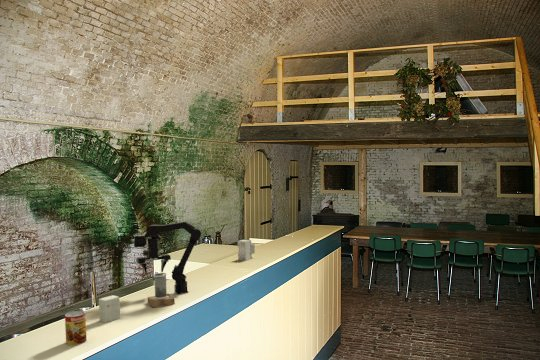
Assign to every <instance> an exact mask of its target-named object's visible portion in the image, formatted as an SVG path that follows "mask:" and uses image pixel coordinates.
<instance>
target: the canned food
mask: <svg viewBox="0 0 540 360" xmlns="http://www.w3.org/2000/svg"><path fill="white" fill-rule="evenodd" d="M86 314H87V313H86V311H84V310H73V311H68V312H67V313H65V314H64V326H65V328H64V329H65V344H66V346H70V345H72V346H73V347H74V346H78V345H81V344H85V343H86V342H87V341H88V340H87V322H86V321H87V320H86V319H87V318H86Z"/></svg>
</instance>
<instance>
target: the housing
mask: <svg viewBox="0 0 540 360" xmlns="http://www.w3.org/2000/svg"><path fill="white" fill-rule="evenodd" d="M153 277H154V295H153V296H154V299H165V298H168V295H167V294H168V293H167V292H168V291H167V273H166V272H160V273H154V274H153Z"/></svg>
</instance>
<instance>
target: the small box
mask: <svg viewBox="0 0 540 360" xmlns="http://www.w3.org/2000/svg"><path fill="white" fill-rule="evenodd" d="M120 301H121V300H120V296H117V295H113V294H112V295H109V296H105V297H102V298H99V299H98V310H99V311H98V313H99V321H101V322H103V323H109V322H112V321H116V320H118V319H121V304H120V303H121V302H120Z"/></svg>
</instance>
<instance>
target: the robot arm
mask: <svg viewBox="0 0 540 360" xmlns="http://www.w3.org/2000/svg"><path fill="white" fill-rule="evenodd" d="M177 230H184V231H186V232H187V233H188V234H189V235H190V237H189V242H188V243H187V246H186V248H185V250H184V252H183V255H182V256H181V258H180V261H179V263H178V264H175V265H174V266H173V269H172V271H171V278H172V280H173V281H174V283H175V284H174V286H173V287H174V294H175V293H176V294H177V295H182V294H186V293H189V291H188V281H187V276H186V275H185V274H184V271H185V268H186V264H187V262H188V260H189V258H190V255H191V253H192V251H193V249H194V247H195V245H196V244H197V242H198V241H199V240H200V238H201V236H202V233H203V232H202V230H201V228H199V227H195V226H194V225H192V224H191V223H188V221H179V222H174V223H167V224H151V225H149V226H148V227H147V228H146V233H145V234H144V235H135V236H134V240H133V241H134V242H133V245H134V247H133V248H135V249H136V248H145V247H146V246H147V249H144V250H142V255H143V256H139V257H136V259H135V262H136V263H137V264H139V265H140V266H141V267H142V269H143V272H144V274H145V275H147V273H148V272H147V263H146V262H150V261H157V260H160V263H161V267H160V273H164V269H165V267H166V265H167V263H168V262H169V261H171V255H170V254H168V253H166V254H165V253H164V254H163V253H162V254H161V255H159V250H160V248H159V240H160V239H162V236H161V235H159V234H161V233H164V232H165V233H166V232H170V231H177ZM150 236H151V237H150Z"/></svg>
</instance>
